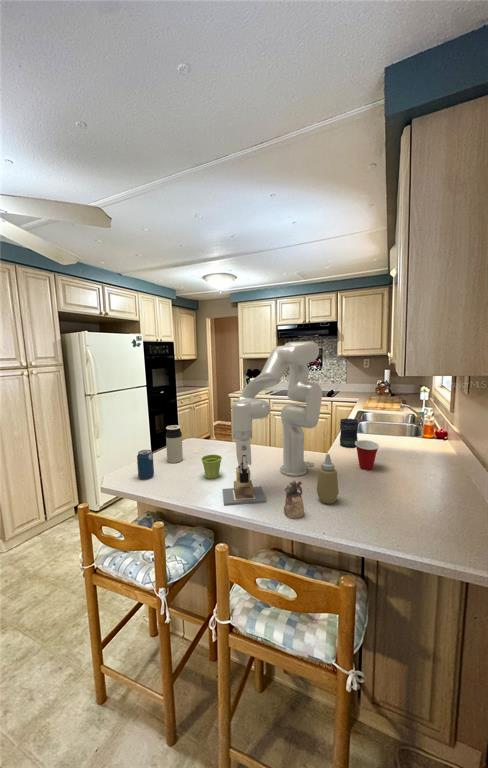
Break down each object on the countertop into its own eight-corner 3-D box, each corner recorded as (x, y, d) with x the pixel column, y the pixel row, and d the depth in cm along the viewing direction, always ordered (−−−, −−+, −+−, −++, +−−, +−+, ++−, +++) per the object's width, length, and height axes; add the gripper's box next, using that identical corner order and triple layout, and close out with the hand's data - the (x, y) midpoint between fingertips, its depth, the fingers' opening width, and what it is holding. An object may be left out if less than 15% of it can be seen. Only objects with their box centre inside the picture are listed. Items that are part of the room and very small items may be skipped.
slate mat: (261, 488, 128) (261, 485, 128) (266, 502, 116) (266, 500, 116) (222, 490, 126) (222, 488, 126) (224, 505, 114) (224, 503, 114)
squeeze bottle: (322, 493, 123) (322, 449, 120) (341, 499, 117) (342, 453, 115) (312, 501, 116) (313, 455, 114) (333, 508, 111) (333, 460, 109)
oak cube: (248, 481, 124) (248, 466, 123) (250, 486, 119) (250, 471, 118) (236, 482, 123) (236, 467, 122) (237, 487, 118) (237, 472, 117)
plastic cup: (359, 472, 141) (360, 447, 140) (350, 464, 152) (351, 440, 151) (383, 472, 142) (383, 446, 140) (372, 463, 152) (373, 439, 151)
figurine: (286, 506, 113) (286, 475, 111) (305, 510, 110) (305, 478, 109) (281, 516, 106) (281, 483, 105) (301, 520, 104) (302, 486, 102)
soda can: (157, 475, 142) (156, 450, 141) (145, 481, 136) (143, 455, 135) (147, 472, 146) (146, 448, 145) (135, 478, 140) (133, 452, 139)
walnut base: (251, 489, 125) (251, 479, 125) (253, 497, 118) (253, 487, 118) (233, 490, 124) (233, 481, 124) (235, 499, 117) (235, 489, 117)
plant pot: (219, 481, 135) (218, 462, 134) (198, 480, 137) (198, 461, 136) (224, 472, 144) (224, 455, 143) (205, 471, 146) (205, 453, 145)
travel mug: (175, 464, 156) (173, 429, 154) (163, 461, 160) (162, 427, 158) (186, 459, 163) (184, 426, 160) (174, 456, 167) (173, 424, 165)
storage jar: (345, 441, 187) (346, 417, 185) (360, 445, 180) (361, 420, 178) (336, 445, 181) (336, 420, 179) (351, 449, 173) (352, 423, 172)
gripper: (255, 440, 110) (256, 488, 112) (249, 427, 127) (249, 469, 129) (234, 441, 109) (235, 489, 112) (231, 428, 126) (232, 470, 129)
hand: (243, 478), depth 120 cm, fingers open, 5 cm apart
